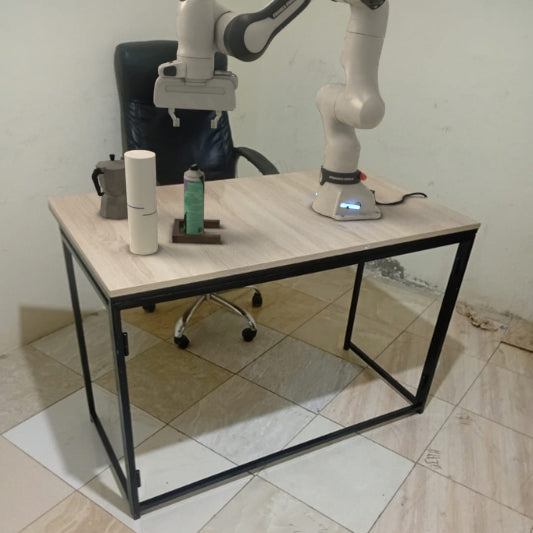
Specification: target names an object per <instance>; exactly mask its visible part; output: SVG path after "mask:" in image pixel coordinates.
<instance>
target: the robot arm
mask: <svg viewBox="0 0 533 533" xmlns="http://www.w3.org/2000/svg"><path fill="white" fill-rule="evenodd" d="M313 1H314V0H270V1H269V2H268V3H266V5H264V6H263V7H262V8H261V9H259V10H258V11H255V12H254V11H253V12H247V13H242V12H236V11H232V10H230V9H229V8H227V7H226V6H224V5H223V4H221V3H220V2H218V1H217V0H179V1H178V5H177V12H176V38H177V43H178V46H177V51H176V59H175V60H171V61H168V62H165V63H162V64H160V65H159V66H158V67H157V68H158V69H157V73H158V77H157V78H156V80H155V83H154V89H153V104H154V105H155V107H156V108H164V109H168V115H169V116H170V117H171V119H172V125H173V126H172V127H180V118H179V117H176V114H175V112H176V111H175V110H176V109H180V110H181V109H182V110H183V109H184V110H201V111H215V115H216V116H215V118H214V119H211V120H210V129H217V128H218V122H219V120H220V118H221V116H222V114H223V113H222V112H233V111H235V110H236V108H237V96H236V90H237V89H238V87H239V77H238V76H237V74H235V73H233V71H231V70H230V71H229V70H226V71H225V70H217V69H215V53H220V54H223V55H225V56H229V57H232V58H235V59H236V60H238V61H240V62H244V63H251V62H255V61H257V60H259V59H260V58H261V57H262V56H263V55H264V54H265V53H266V51H267V49H268V48H269V46H270V45H271V43H272V41H273V40H274V38H275V37H276V36H277V35H278V34H279V33H280V32H281V31H283V30H284V29H285V28H286V27H287V26H288V25H289V24H290V23H291V22H293V21H294V20H295V19H296V18H297V17H298V16H299V15H300V14H301V13H302V12H303V11H305V10H306V9H307V7H308V6H309V5H310V4H311V3H312V2H313ZM330 1H332V2H334V3H342V4H347V5H349V8H350V10H349V11H350V15H349V16H350V17H349V20H348V23H347V26H346V31H345V35H344V40H343V45H342V50H341V55H340V58H339V59H340V64H341V66H342V69H343V71H344V75H345V83H343V82H329V83H328V82H327V83H325V84H324V85H323V86H321V87H320V88H319V90H318V91H317V94H316V97H315V106H316V108H317V111H318V112H319V114H320V117H321V121H322V125H323V132H324V133H323V134H324V149H323V158H322V165H321V166H320V170H319V175H318V183H319V185H318V189H317V192H316V193H315V198H314V200H313V203H312V205H311V209H312V210H313V211H314V212H316V213H318V214H320V215H322V216H325V217H329V218H332V219H334V220H336V221H358V220H376V219H380V218H381V215H382V212H381V210H380V208H379V207H378V205H379V206H395V205H398V204H401V203H403V202H404V201H405V200H406V198H407V197H412V196H423V197H424V198H426V199H428V198H429V197H428V195H427V194H426V193H424V192H417V191H416V192H411V193H407V194H404V195H402V197H401V199H400V200H397V201H392V202H388V203H382V202H379V201H377V199H376V195H375V194H376V190H373V189H370V188H369V187H368V186H367V185H366V184H365V183H363V181H366V180H367V179H368V176H367V174H365V173H364V172H362V171H361V170H360V169H358V167H359V161H360V154H361V149H362V148H361V143H360V140H359V139H358V137H357V134H356V130H355V129H357V130H373V129H375V128H377V127H378V126H379V125H380V124H381V123H382V121H383V119H384V118H385V114H386V104H385V101H384V99H383V97H382V96H381V92H380V88H379V65H380V60H381V55H382V50H383V46H384V43H385V39H386V33H387V29H388V22H389V14H390V2H389V0H330Z"/></svg>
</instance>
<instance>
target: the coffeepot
mask: <svg viewBox="0 0 533 533" xmlns="http://www.w3.org/2000/svg"><path fill="white" fill-rule="evenodd" d="M108 157H109V159H106V160H101V161H98V162H97V163H96V164H95V168H93V171H92V173H91V180H92V182H93V185H94V189H95V192H96V194H97V196H98V197H100V208H99V215H100V216H101V217H102V218H104V219H107V220H122V219H123V220H124V219H126V218H128V208H127V191H126V174H125V159H116V154H114V153H110V154H109V156H108Z"/></svg>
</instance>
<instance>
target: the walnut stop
mask: <svg viewBox="0 0 533 533" xmlns="http://www.w3.org/2000/svg"><path fill="white" fill-rule="evenodd" d="M220 225H221V219H211V218H210V219H209V218H208V219H206V218H204V229H207V228H208V229H220V227H221V226H220ZM180 228H184V218H176V217H175V218H174V219H173V227H172V234H171V243H172V244H174V243H175V244H176V243H177V244H213V245H214V244H219V245H220V244H221V243H222V237H221V234H207V233H205V234H204V233H203V234H184V233H180Z"/></svg>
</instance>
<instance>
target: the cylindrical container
mask: <svg viewBox="0 0 533 533" xmlns="http://www.w3.org/2000/svg"><path fill="white" fill-rule="evenodd" d="M123 155H124V157H123V158H124V160H125V174H126V192H127V208H128V217H127V223H128V224H127V225H128V242H129V251H130V252H131V253H133V254H135V255H140V256H141V255H142V256H145V255H146V256H147V255H152V254H154V253H156V252H157V251H158V250H159V237H158V236H159V234H158V200H157V168H156V166H157V165H156V163H157V162H156V153H155V152H153V151H150V150H145V149H134V150H128V151H126V152H124V154H123Z"/></svg>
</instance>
